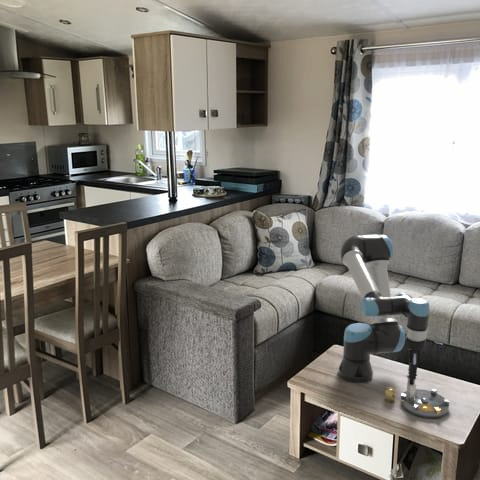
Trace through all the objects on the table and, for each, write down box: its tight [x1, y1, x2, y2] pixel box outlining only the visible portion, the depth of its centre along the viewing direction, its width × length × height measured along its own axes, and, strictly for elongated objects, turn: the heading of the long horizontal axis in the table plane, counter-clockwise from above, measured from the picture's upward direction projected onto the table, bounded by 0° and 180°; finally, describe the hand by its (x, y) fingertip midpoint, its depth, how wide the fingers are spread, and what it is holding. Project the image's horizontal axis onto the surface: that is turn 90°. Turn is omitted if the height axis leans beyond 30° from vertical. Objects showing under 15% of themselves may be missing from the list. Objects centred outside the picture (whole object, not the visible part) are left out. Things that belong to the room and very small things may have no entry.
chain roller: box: [384, 386, 396, 404], centre depth 207 cm, size 4×4×5 cm
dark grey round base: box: [400, 383, 450, 419], centre depth 201 cm, size 18×18×10 cm
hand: (410, 391), depth 203 cm, fingers closed
